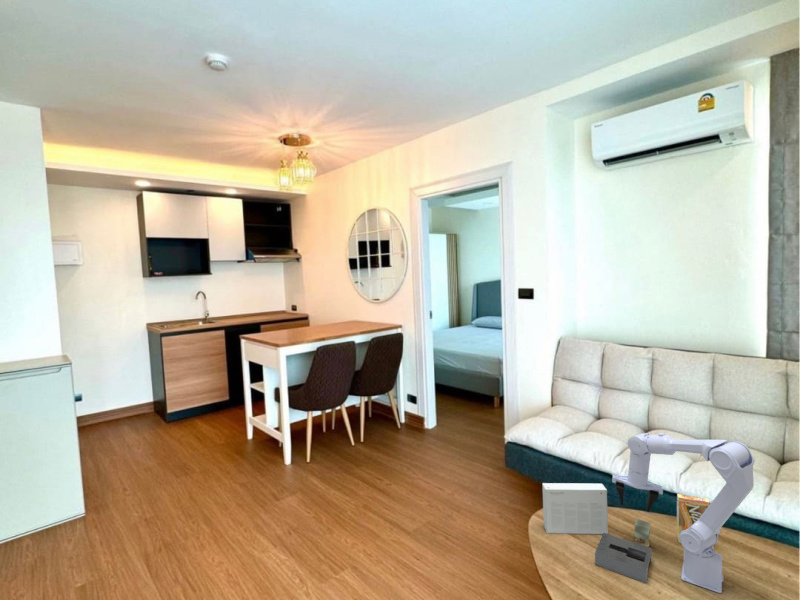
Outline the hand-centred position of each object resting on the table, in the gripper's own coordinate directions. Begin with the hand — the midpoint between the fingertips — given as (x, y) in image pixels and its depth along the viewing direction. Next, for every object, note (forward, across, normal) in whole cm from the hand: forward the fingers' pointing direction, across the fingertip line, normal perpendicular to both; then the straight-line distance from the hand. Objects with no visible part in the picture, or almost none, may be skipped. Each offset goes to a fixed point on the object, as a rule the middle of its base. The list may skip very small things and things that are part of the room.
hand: (634, 506), depth 140 cm
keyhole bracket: (+12, +2, +13) cm, 18 cm away
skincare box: (+14, +18, +1) cm, 23 cm away
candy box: (+11, -18, -6) cm, 23 cm away
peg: (+12, -3, +1) cm, 12 cm away
